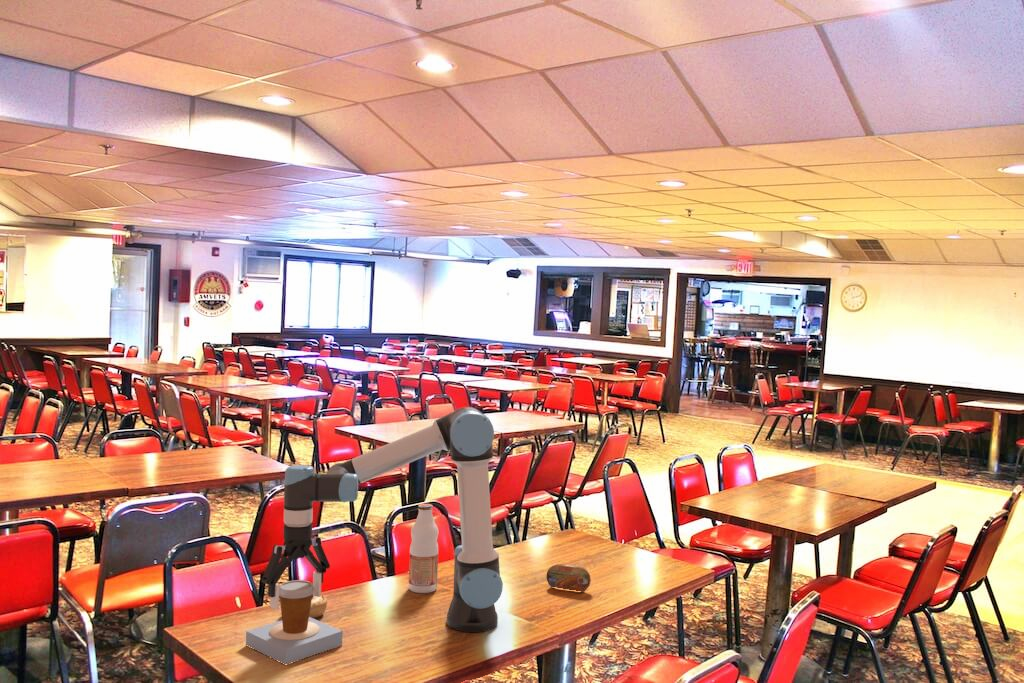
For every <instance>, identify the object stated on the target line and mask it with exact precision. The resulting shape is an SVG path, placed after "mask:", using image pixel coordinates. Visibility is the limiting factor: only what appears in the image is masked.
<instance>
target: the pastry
mask: <svg viewBox="0 0 1024 683" xmlns="http://www.w3.org/2000/svg"><path fill="white" fill-rule="evenodd" d="M327 605H328V599H327V597H325V595H324V594H321V597H317V596H314V595H313V594H312V600H311V607H310V613H309V617H311V618H313V619H315V618H316V619H318V618H320V617H322V616H323V614H324V613H325V612H326V610H327Z"/></svg>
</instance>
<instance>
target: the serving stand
mask: <svg viewBox="0 0 1024 683" xmlns="http://www.w3.org/2000/svg"><path fill="white" fill-rule="evenodd" d="M245 632H246V633H245V646H246V645H248V646H250V647H252V648H254V649H255V650H257V651H259V652H261V653H263V654H265V655H267V656H269V657H271V658H273V659H275V660H278V661H280V662H282V663H284V664H289V663H291V662H294V661H297V660H300V659H303V658H306V657H309V656H311V657H313V656H312V655H314V656H316V655H315V654H317V655H319V654H318V653H320V654H322V653H325V652H328V651H331V650H333V648H334V649H336V648H339V647H342V646H343V632H344V631H343V630H342V629H339V628H337V627H335V626H332V625H330V624H327V623H326V622H322V621H320V620H318V619H317V618H316V619H313V618H311V617H309V620H308V626H307V630H306V631H304V632H302V633H296V634H290V633H286V632H284V631H283V623H282V619H281V620H278V621H275V622H271V623H268V624H265V625H262V626H259V627H255V628H252V629H249V630H245ZM341 645H342V646H341ZM338 646H339V647H338ZM330 649H331V650H330ZM255 650H254V651H255ZM327 650H328V651H327ZM257 651H256V652H257ZM324 651H325V652H324ZM259 652H258V653H259ZM321 652H322V653H321ZM261 653H260V654H261ZM263 654H262V655H263ZM265 655H264V656H265ZM267 656H266V657H267ZM269 657H268V658H269ZM271 658H270V659H271ZM309 658H310V657H309ZM273 659H272V660H273ZM306 659H307V658H306ZM275 660H274V661H275ZM303 660H304V659H303ZM300 661H301V660H300ZM297 662H298V661H297ZM289 665H290V664H289Z"/></svg>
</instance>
